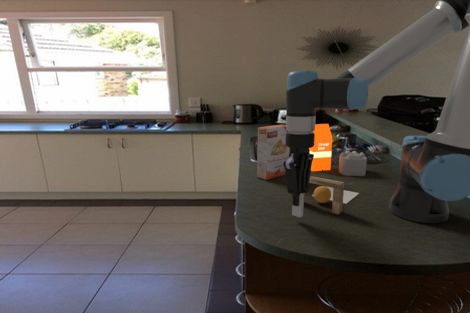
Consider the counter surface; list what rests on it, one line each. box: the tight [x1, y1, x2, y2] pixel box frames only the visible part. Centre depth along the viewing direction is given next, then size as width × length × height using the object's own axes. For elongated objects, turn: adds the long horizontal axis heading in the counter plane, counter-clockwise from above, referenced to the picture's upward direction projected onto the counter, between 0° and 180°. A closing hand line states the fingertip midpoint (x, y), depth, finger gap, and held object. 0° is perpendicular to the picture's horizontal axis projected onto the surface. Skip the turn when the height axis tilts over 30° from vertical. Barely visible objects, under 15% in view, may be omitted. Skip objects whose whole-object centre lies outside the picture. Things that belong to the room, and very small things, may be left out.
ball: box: [313, 185, 331, 204], centre depth 102 cm, size 6×6×6 cm
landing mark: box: [311, 186, 360, 205], centre depth 109 cm, size 12×12×1 cm
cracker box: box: [256, 124, 290, 181], centre depth 130 cm, size 14×6×21 cm, turn 131°
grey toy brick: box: [338, 150, 368, 177], centre depth 135 cm, size 10×13×9 cm
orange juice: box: [309, 123, 333, 172], centre depth 140 cm, size 8×9×20 cm
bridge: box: [304, 175, 345, 215], centre depth 97 cm, size 3×14×9 cm, turn 50°
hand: (297, 215), depth 88 cm, fingers closed
